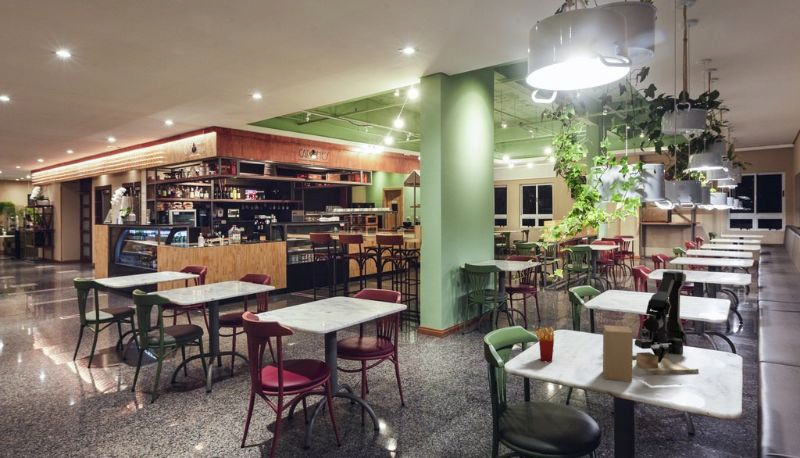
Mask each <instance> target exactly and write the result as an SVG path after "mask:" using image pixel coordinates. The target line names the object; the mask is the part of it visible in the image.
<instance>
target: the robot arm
mask: <svg viewBox="0 0 800 458" xmlns="http://www.w3.org/2000/svg"><path fill="white" fill-rule="evenodd" d="M686 281H687V274H686V273H684V271H682V270H670V269H668V270H665V271H662V278H661V281H660V284H659V287H658V289H657V291H656V292H655V293H654V294H652V296H651V297H650V299H649V300H648V303H647V307H646V312H645V314H646V315H648V316H649V317H648V318H646V319H645V320H644V322H643V325H644V328H643V329H642V328H641V329H639V331H638V333H639V334H638V335H639V337H640V338H636V339H635V340H634V346H636V347H637V348H640V349H643V350H645V349H646V350H648V349H650V350H652V352H653V353H652V354H654V355H656V356H658V363H660V362H661V360H662V359H663V357H664V356H665V354H668V355H683V354H684V344H687V342H688V340H687V334H686V332H685V330H684V325H683V324H682V321H681V319H680V313H681V311H680V310H681V289H683V287H684V286H685V283H686ZM667 317H668V318H667Z"/></svg>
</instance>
